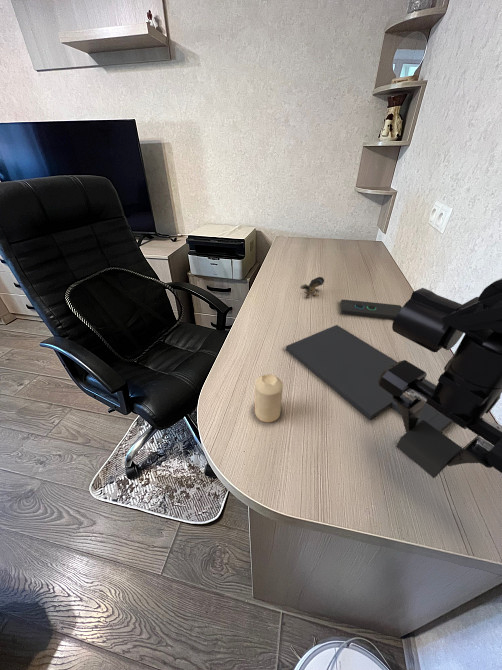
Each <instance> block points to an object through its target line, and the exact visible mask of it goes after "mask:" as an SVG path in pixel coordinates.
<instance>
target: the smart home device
mask: <svg viewBox="0 0 502 670" xmlns="http://www.w3.org/2000/svg"><path fill="white" fill-rule="evenodd" d="M402 307H403V306H402V305H400V304H393V303H381V302H372V301H364V300H363V301H361V300H351V299H341V300H340V314H341V315H344V316H345V315H346V316H354V317H364V318H373V319H382V320H389V321H390V320H391V321H393V320H394V318H395V316H396V315H397V314H398V313H399V311H400V310H401V308H402Z"/></svg>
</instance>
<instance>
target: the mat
mask: <svg viewBox="0 0 502 670" xmlns="http://www.w3.org/2000/svg"><path fill="white" fill-rule="evenodd" d="M285 346H286V347H285V351H286V352H287V353H289V355H291V356H292V357H293V358H295V359H296V360H297V361H298V362H299V363H301V364H302V365H303V366H305V367H306V368H307V369H308V370H309V371H310V372H312V373H313V374H314V375H315V376H316V377H318V378H319V379H320V380H321V381H322V382H324V383H325V384H326V385H327V386H328V387H330V388H331V389H332V390H333V391H334V392H335V393H337V394H338V395H339V396H340V397H342V398H343V399H344V400H345V401H346V402H348V404H350V405H351V406H352V407H353V408H355V409H356V410H357V411H358V412H359V413H361V414H362V415H363V416H364V417H366V418H367V419H368V420H369V421H372V419H374V418H376V417H377V416H379V415H380V414H382V413H383V412H384V411H385V410H387V409H389V408H391V409H393V410H394V411H395V412H396V413H397V414H399V415H401V412H400V410H399V407H398V404H397V402H395V401H394V400H393V398H392V397H393V395H392V394H390V393H389V392H387V391H386V390H385V389H383V388H382V387H380V386H379V383H378V381H379V379H380V376H381V374H382V373H383V372H384V370H386V369H388V368H389V367H391V366H393V365H394V364H396V363H398V362H399V361H397V360H395V359H394V358H392V357H391V356H389V355H387V354H386V353H384V352H382V351H380V350H379V349H378V348H375V347H374V346H372V345H370V344H369V343H367V342H366V341H364V340H362V339H361V338H359V337H357V336H356V335H354V334H353V333H351V332H349V331H348V330H346V329H345V328H343V327H341V326H339V325H338V324H335V325H333V326H331V327H328V328H326V329H323V330H321V331H319V332H316V333H314V334H311V335H309V336H307V337H304V338H301V339H299V340H297V341H295V342H293V343H290V344H287V345H285ZM421 382H423V383H424V384H426V385H428V386H429V387H431V388H432V389H435V388H436V386H437V384H435V383H433V382H431V381H429V380H428V379H426V378H425V379H424V380H423V381H421ZM422 420H424V421H426V422H427V423H429V424H430V425H431V426H433V427H434V428H435V429H437V430H438V431H440V432H441V433H442V432H443V431H444V430H445V429H446V428H447V427H448V426H450V425H451V424H452V423H454V422H453V421H451V420H450V419H448V418H447V417H445V416H444V415H442V414H441V413H439V412H438V411H436V410H435V409H434V408H432V407H431V406H429V405H428V404H426V403H425V404H424V406H423V409H422V411H421V414H420V416H419V419H418V421H417V424H418V423H419V422H421V421H422ZM417 424H416V425H417Z"/></svg>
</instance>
